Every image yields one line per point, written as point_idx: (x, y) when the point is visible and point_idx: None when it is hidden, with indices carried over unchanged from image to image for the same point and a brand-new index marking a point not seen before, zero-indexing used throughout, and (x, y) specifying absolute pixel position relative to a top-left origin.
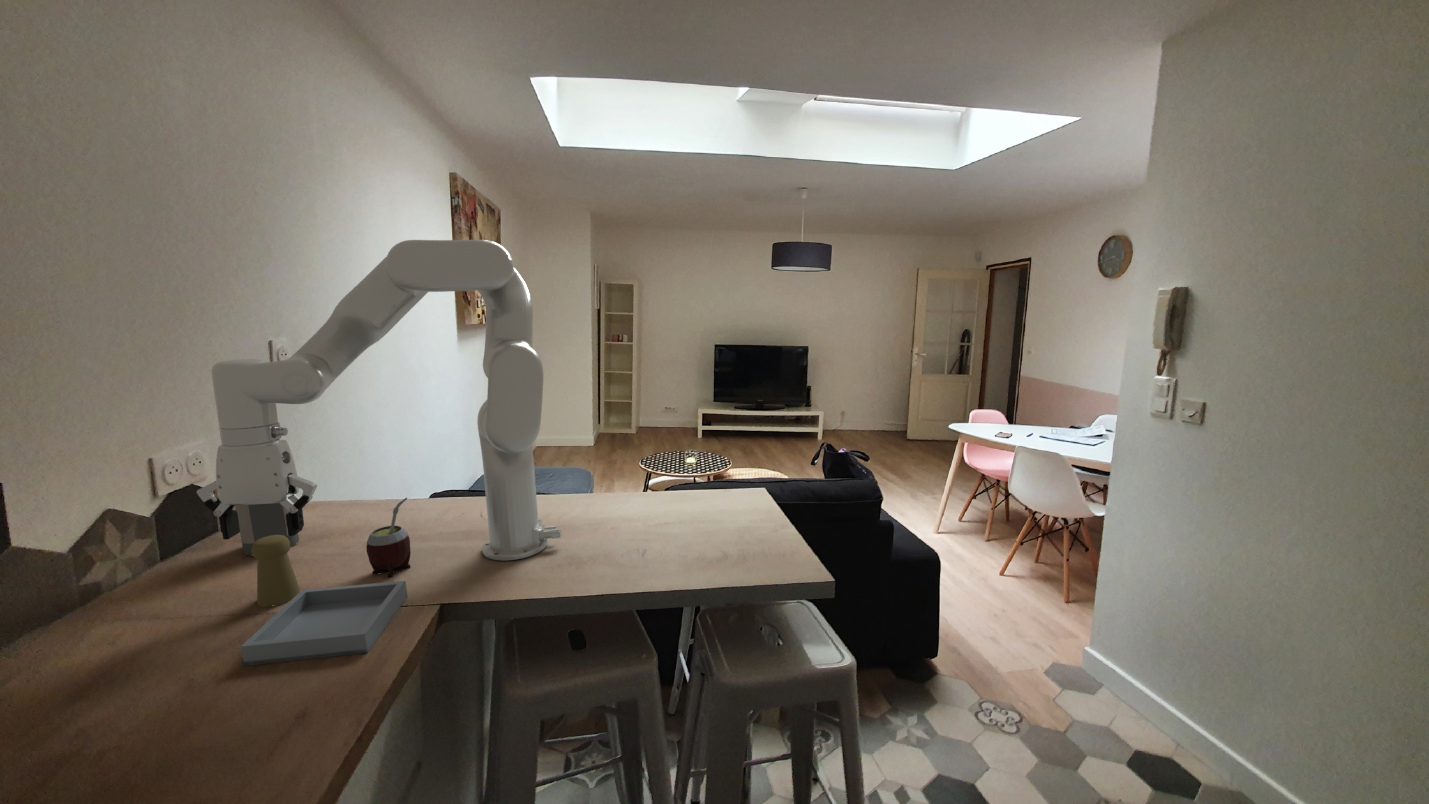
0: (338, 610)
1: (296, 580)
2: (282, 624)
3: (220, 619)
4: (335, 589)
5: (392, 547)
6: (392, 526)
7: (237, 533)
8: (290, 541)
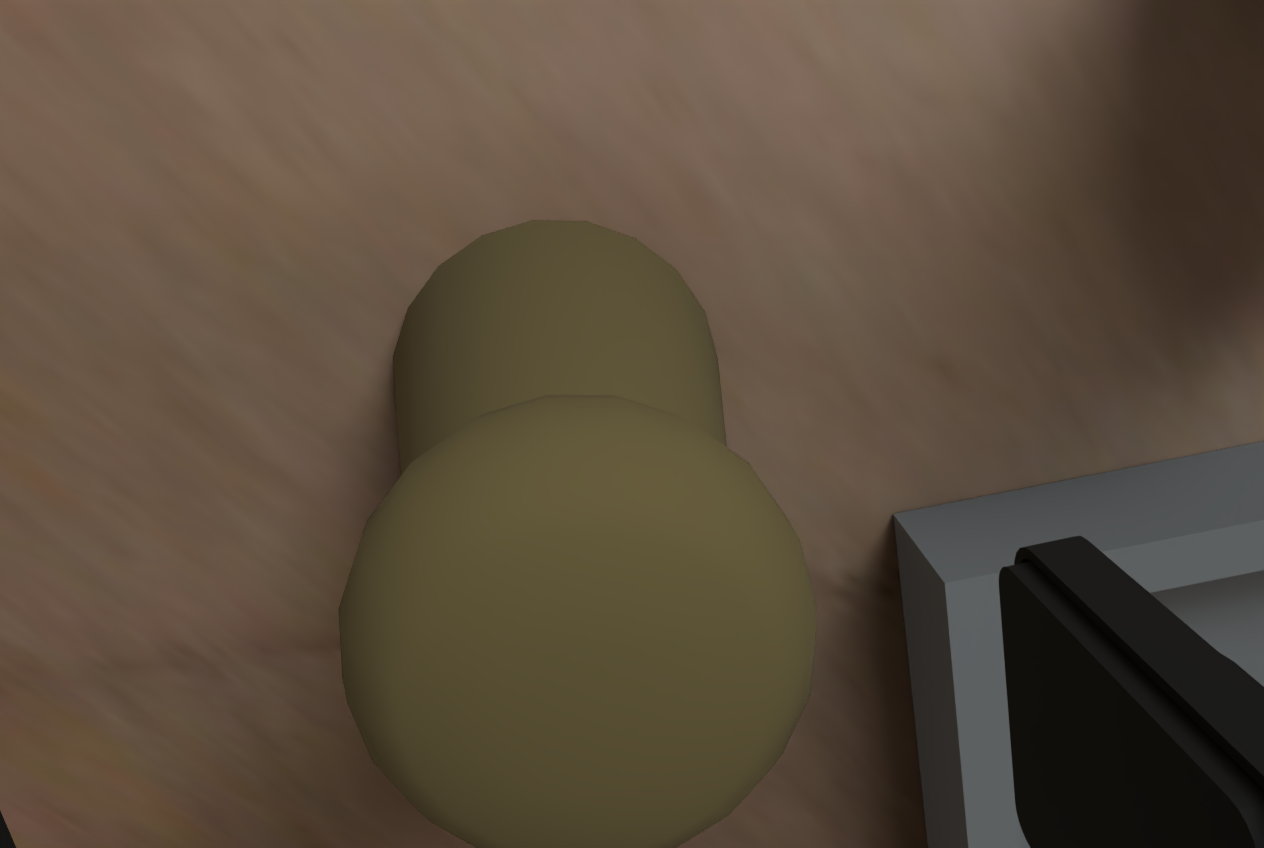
0: (1241, 622)
1: (692, 328)
2: None
3: (339, 702)
4: (1247, 570)
5: None
6: None
7: (11, 840)
8: None
